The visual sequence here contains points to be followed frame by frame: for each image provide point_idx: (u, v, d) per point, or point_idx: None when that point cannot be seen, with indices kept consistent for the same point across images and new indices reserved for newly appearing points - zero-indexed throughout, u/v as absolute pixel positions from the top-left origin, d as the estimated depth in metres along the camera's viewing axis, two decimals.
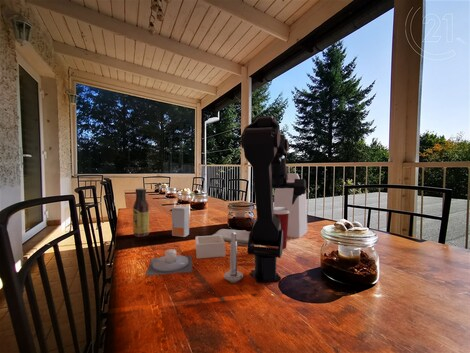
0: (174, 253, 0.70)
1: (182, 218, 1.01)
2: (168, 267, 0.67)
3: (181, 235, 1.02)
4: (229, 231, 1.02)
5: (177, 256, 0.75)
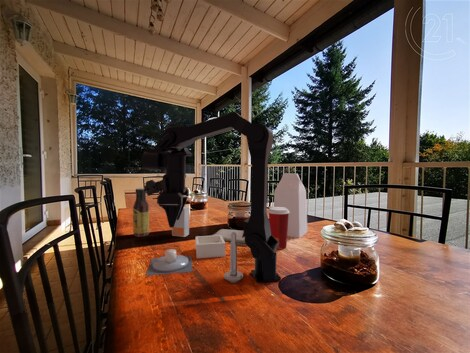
0: (174, 253, 0.70)
1: (182, 218, 1.01)
2: (168, 267, 0.67)
3: (181, 235, 1.02)
4: (229, 231, 1.02)
5: (177, 256, 0.75)
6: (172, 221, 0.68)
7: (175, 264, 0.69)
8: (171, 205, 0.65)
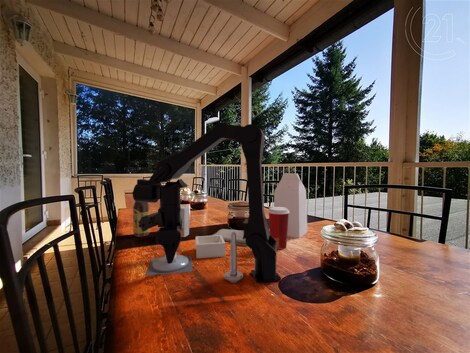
0: None
1: (182, 218, 1.01)
2: (168, 267, 0.67)
3: (181, 235, 1.02)
4: (229, 231, 1.02)
5: (177, 256, 0.75)
6: (170, 257, 0.66)
7: (175, 264, 0.69)
8: (170, 242, 0.63)
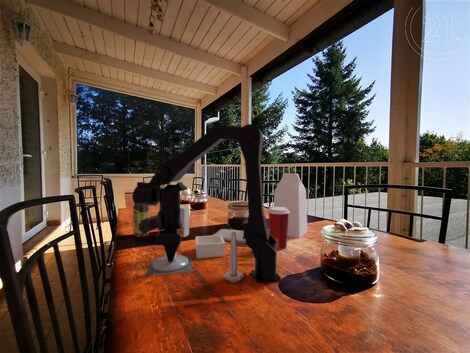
0: None
1: (182, 218, 1.01)
2: (168, 267, 0.67)
3: (181, 235, 1.02)
4: (229, 231, 1.02)
5: (177, 256, 0.75)
6: (171, 256, 0.69)
7: (175, 264, 0.69)
8: None
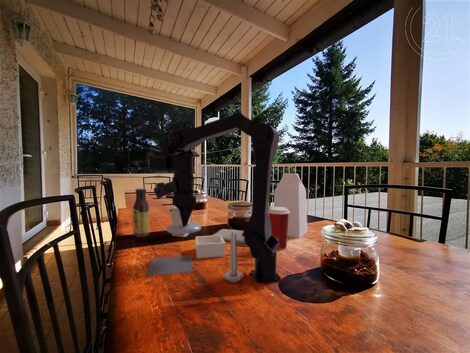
0: None
1: None
2: (183, 229, 0.70)
3: (181, 235, 1.02)
4: (229, 231, 1.02)
5: (189, 223, 0.78)
6: (185, 220, 0.72)
7: (189, 227, 0.72)
8: (186, 204, 0.69)
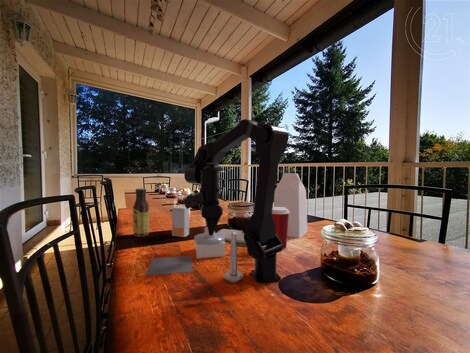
0: None
1: (182, 218, 1.01)
2: (209, 240, 0.77)
3: (181, 235, 1.02)
4: (230, 231, 1.02)
5: None
6: (211, 230, 0.77)
7: (214, 238, 0.79)
8: (213, 216, 0.74)
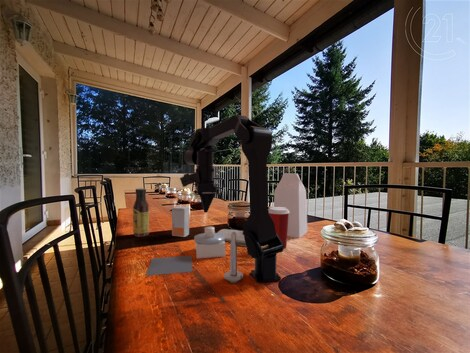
0: (213, 229, 0.80)
1: (182, 218, 1.01)
2: (209, 240, 0.77)
3: (181, 235, 1.02)
4: (230, 231, 1.01)
5: None
6: (206, 207, 0.82)
7: (214, 238, 0.79)
8: (208, 193, 0.79)
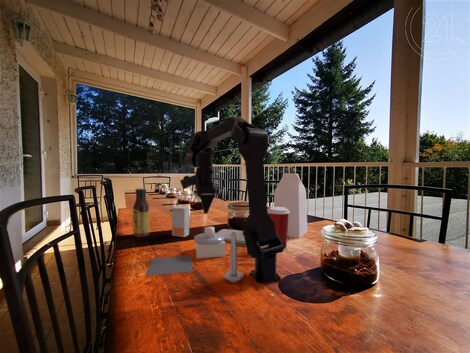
0: (213, 229, 0.80)
1: (182, 218, 1.01)
2: (209, 240, 0.77)
3: (181, 235, 1.02)
4: (230, 231, 1.01)
5: None
6: (206, 208, 0.83)
7: (214, 238, 0.79)
8: (207, 194, 0.81)
